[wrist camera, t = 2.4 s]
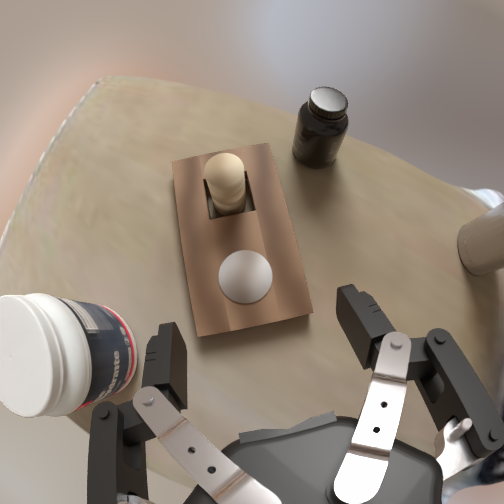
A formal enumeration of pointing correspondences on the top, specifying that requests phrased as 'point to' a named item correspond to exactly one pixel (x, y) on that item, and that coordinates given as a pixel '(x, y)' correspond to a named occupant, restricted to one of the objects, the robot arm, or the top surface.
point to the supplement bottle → (321, 127)
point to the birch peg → (226, 183)
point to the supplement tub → (61, 354)
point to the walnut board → (239, 249)
